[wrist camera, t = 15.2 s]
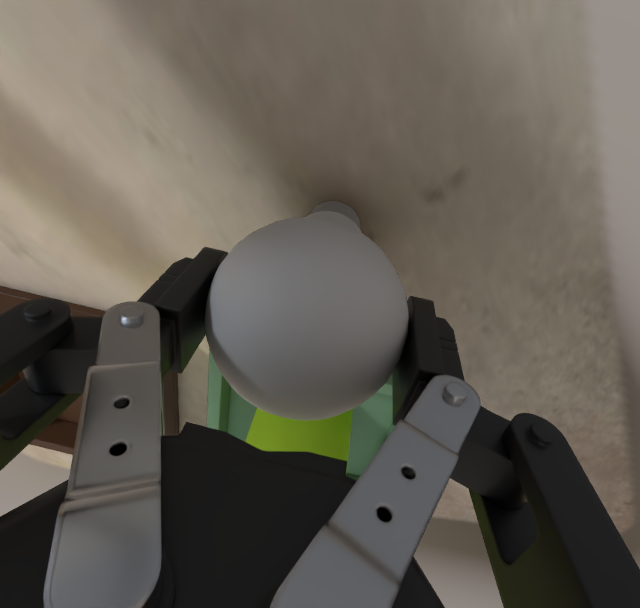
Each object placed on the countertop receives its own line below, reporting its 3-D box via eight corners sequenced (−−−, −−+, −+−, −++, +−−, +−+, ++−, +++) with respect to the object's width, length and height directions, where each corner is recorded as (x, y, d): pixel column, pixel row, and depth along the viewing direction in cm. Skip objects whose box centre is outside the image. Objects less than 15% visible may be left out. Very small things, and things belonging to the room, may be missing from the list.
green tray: (225, 313, 23) (208, 341, 21) (430, 361, 23) (434, 395, 21) (218, 440, 30) (204, 471, 28) (375, 478, 30) (374, 513, 27)
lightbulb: (339, 121, 17) (280, 224, 7) (428, 227, 18) (466, 410, 9) (246, 214, 19) (122, 369, 10) (331, 297, 21) (290, 489, 12)
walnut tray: (-15, 282, 24) (-54, 305, 22) (176, 328, 24) (155, 356, 22) (30, 410, 31) (4, 438, 29) (179, 447, 31) (164, 477, 29)
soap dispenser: (246, 426, 27) (30, 1010, 11) (278, 359, 24) (18, 1107, 7) (324, 456, 28) (231, 1055, 12) (368, 395, 24) (322, 1167, 8)
